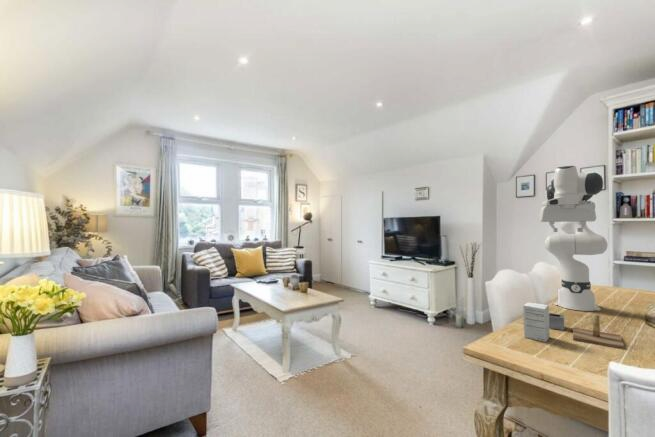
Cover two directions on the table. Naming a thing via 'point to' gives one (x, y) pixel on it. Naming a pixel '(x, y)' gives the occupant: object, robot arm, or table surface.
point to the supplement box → (536, 321)
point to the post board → (598, 340)
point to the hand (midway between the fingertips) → (567, 232)
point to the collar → (556, 321)
